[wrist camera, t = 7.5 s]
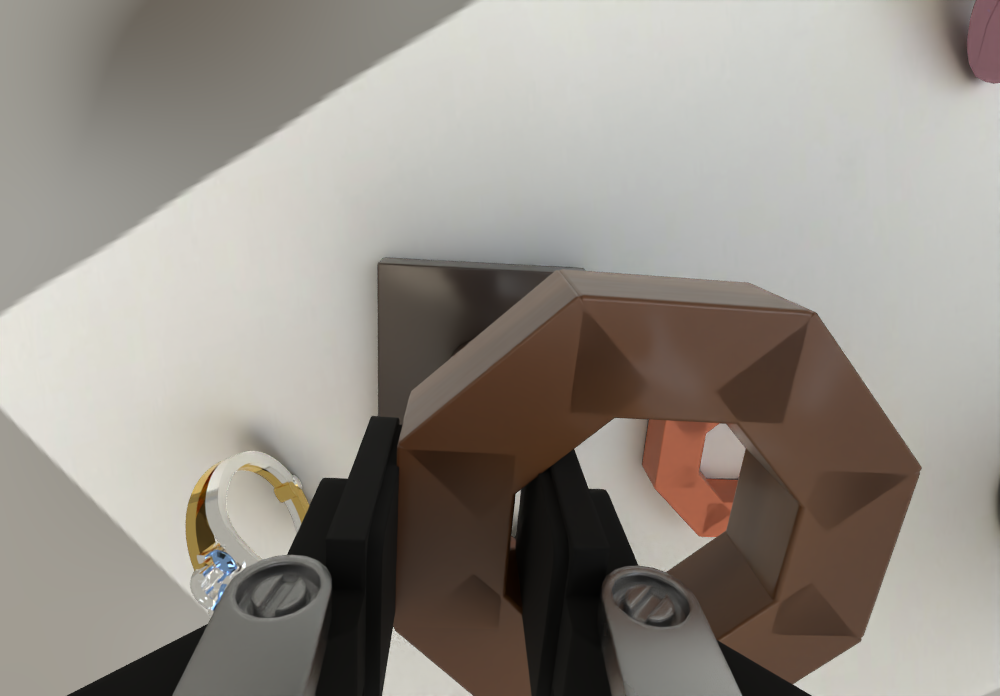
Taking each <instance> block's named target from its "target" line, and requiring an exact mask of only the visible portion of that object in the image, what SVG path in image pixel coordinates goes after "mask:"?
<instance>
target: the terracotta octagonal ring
mask: <svg viewBox="0 0 1000 696" xmlns="http://www.w3.org/2000/svg"><path fill="white" fill-rule="evenodd" d="M718 424H719V423H708V422H689V421H670V420H651V419H649V422H648V429H647V436H646V442H645V449H644V455H643V462H642V466H643V468H644V470H645V472H646V473H647V475H648V477H649V479H650V481H651V483H652V484H653V486H654V488H655V489H656V490H657V492H658V493H659V494H660V495H661V496H662V497H663V498H664V499H665V500H666V501H667V502H668V503H669V504H670V506H671V507H672V508H673V509H674V510H675V511H676V512H677V513H678V514H679V515H680V516H681V517H682V518H683V520H684V521H685V522H686V523H687V524H688V525H689V526H690V527H691V528H692V529H693V530H694V531H695V533H696V534H697V535H698V536H701V537H718V536H719V535H720V534H722V533H723V532H725V531H726V529H727V525H728V521H729V517H730V513H731V508H732V504H733V500H734V496H735V492H736V487H737V483H738V480H726V479H706V478H705V477H704V475H703V474H702V473H701V472H700V471H699V468H700V462H701V457H702V452H703V446H704V441H705V436H706V433H707V432H709V431H710V430H711V429H713V428H714V427H715V426H717V425H718Z"/></svg>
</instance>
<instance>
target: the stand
mask: <svg viewBox="0 0 1000 696" xmlns="http://www.w3.org/2000/svg"><path fill="white" fill-rule="evenodd" d="M562 269H565V270H579V271H586V270H585V269H583V268H571V267H552V266H533V265H514V264H496V263H477V262H458V261H439V260H421V259H402V258H382V260H381V261H380V262H379V263H378V416H380V417H399V420H400V425H402V424H403V420H404V416H405V412H406V408H407V404H408V400H409V396H410V393H411V391H412V390H413V389H414V388H416V387H417V386H418V385H419V384H420V383H422V382H423V381H424V380H425V379H426V378H428V377H429V376H430V375H431V374H432V373H434V372H435V371H436V370H437V369H438V368H439V367H441V366H442V365H443V364H444V363H445V362H447V361H448V360H449V359H450V358H451V357H453V356H454V355H455V354H456V353H457V352H459V351H460V350H461V349H462V348H463V347H465V346H466V345H467V344H468V343H469V342H471V341H472V340H473V339H474V338H475V337H477V336H478V335H479V334H480V333H481V332H483V331H484V330H485V329H486V328H487V327H489V326H490V325H491V324H492V323H493V322H495V321H496V320H497V319H498V318H499V317H501V316H502V315H503V314H504V313H505V312H507V311H508V310H509V309H510V308H511V307H513V306H514V305H515V304H516V303H517V302H519V301H520V300H521V299H522V298H523V297H524V296H526V295H527V294H528V293H529V292H530V291H532V290H533V289H534V288H535V287H536V286H538V285H539V284H540V283H541V282H542V281H544V280H545V279H546V278H547V277H548V276H550V275H551V274H552V273H553V272H554V271H556V270H562Z"/></svg>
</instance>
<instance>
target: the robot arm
mask: <svg viewBox="0 0 1000 696" xmlns="http://www.w3.org/2000/svg"><path fill="white" fill-rule="evenodd" d="M401 428H402V425H400V420H399V417H380V416H371V418H370V421H369V424H368V426H367V429H366V432H365V435H364V437H363V440H362V443H361V445H360V448H359V451H358V453H357V456H356V459H355V461H354V464H353V467H352V469H351V472H350V475H349V477H348V479H340V478H323V479H322V480H321V482H320V484H319V486H318V488H317V490H316V493H315V495H314V497H313V499H312V501H311V504H310V506H309V508H308V510H307V512H306V515H305V517H304V519H303V521H302V523H301V526H300V528H299V530H298V532H297V534H296V537H295V539H294V541H293V543H292V545H291V548H290V550H289V552H288V554H287V555H283V556H275V557H271V558H268V559H264V560H260V561H258V562H256V563H254V564H252V565H250V566H248V567H246V568H245V569H244V570H242V571H241V572H240V573H238V574H237V575H236V576H235V577H234V578H233V579H232V580H231V582H230V583H229V584H228V586H227V587H226V589H225V591H224V593H223V595H222V597H221V599H220V601H219V603H218V605H217V607H216V609H215V611H214V613H213V615H212V617H211V619H210V621H209V623H208V624H207V625H205V626H203V627H201V628H199V629H197V630H195V631H193V632H191V633H189V634H187V635H185V636H183V637H181V638H179V639H177V640H175V641H173V642H171V643H169V644H167V645H165V646H163V647H161V648H159V649H158V650H156V651H154V652H152V653H150V654H148V655H146V656H144V657H142V658H140V659H138V660H136V661H134V662H132V663H130V664H128V665H126V666H124V667H122V668H120V669H118V670H116V671H114V672H112V673H110V674H108V675H106V676H104V677H103V678H100V679H99V680H97V681H95V682H93V683H91V684H89V685H87V686H85V687H83V688H81V689H79V690H77V691H75V692H73V693H71V694H69V695H67V696H382V692H383V685H384V679H385V673H386V667H387V660H388V654H389V648H390V642H391V635H392V629H393V623H394V616H395V596H396V561H397V527H398V493H399V467H397V445H398V441H399V437H400V432H401ZM515 551H516V559H517V567H518V576H519V584H520V592H521V601H522V611H523V613H522V619H523V628H524V636H525V645H526V653H527V661H528V670H529V678H530V687H531V695H532V696H811V695H810V694H808V693H806V692H804V691H803V690H801V689H799V688H798V687H796V686H794V685H793V684H791V683H789V682H788V681H786V680H784V679H782V678H781V677H779V676H777V675H776V674H774V673H772V672H771V671H769V670H767V669H766V668H764V667H762V666H760V665H759V664H757V663H755V662H754V661H752V660H750V659H749V658H747V657H745V656H744V655H742V654H740V653H738V652H737V651H735V650H733V649H732V648H730V647H728V646H727V645H725V644H723V643H722V642H720V641H718V640H716V638H715V636H714V634H713V632H712V630H711V627H710V625H709V623H708V621H707V619H706V617H705V614H704V612H703V610H702V608H701V606H700V604H699V602H698V600H697V598H696V597H695V595H694V594H693V592H692V591H691V590H690V589H689V588H688V587H687V586H686V585H685V584H684V583H682V582H681V581H680V580H678V579H677V578H675V577H673V576H672V575H670V574H668V573H666V572H663V571H660V570H658V569H655V568H651V567H644V566H638V564H637V561H636V559H635V557H634V554H633V552H632V549H631V547H630V545H629V542H628V540H627V537H626V535H625V533H624V530H623V528H622V525H621V523H620V521H619V518H618V516H617V514H616V511H615V509H614V506H613V504H612V502H611V499H610V497H609V494H608V493H607V491H606V490H604V489H588V486H587V483H586V480H585V478H584V475H583V472H582V469H581V467H580V464H579V461H578V459H577V456H576V453H575V450H574V449H573V450H572V451H570V452H569V453H568V454H566V455H565V456H564V457H563V458H561V459H560V460H559V461H557V462H556V463H555V464H553V465H552V466H551V467H549V468H548V469H547V470H546V471H544V472H543V473H539V474H538V477H536V478H535V479H534V480H532V481H531V482H530V483H529V484H527V485H526V486H525V487H523V488H522V489H521V496H520V506H519V515H518V525H517V534H516V546H515Z"/></svg>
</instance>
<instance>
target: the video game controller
mask: <svg viewBox="0 0 1000 696" xmlns="http://www.w3.org/2000/svg"><path fill="white" fill-rule="evenodd" d="M967 53H968V61H969V65H970V67H971V69H972V71H973V73H974V75H975V76H976V77H977V78H979V79H981V80H983V81H985V82H989V83H993V84H994V83H1000V0H976V2H975V4H974V7H973V11H972V14H971V18H970V23H969V29H968V37H967Z"/></svg>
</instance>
